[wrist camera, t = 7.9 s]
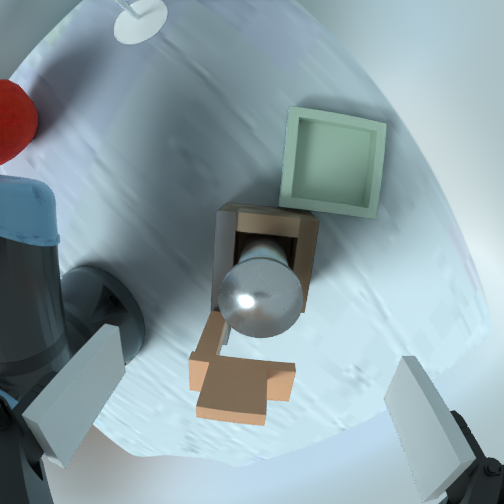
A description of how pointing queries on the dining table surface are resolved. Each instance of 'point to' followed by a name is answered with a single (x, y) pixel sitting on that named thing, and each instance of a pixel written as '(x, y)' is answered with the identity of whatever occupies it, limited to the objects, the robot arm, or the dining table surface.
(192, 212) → the dining table surface
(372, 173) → the dish
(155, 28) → the wineglass
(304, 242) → the block
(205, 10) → the dining table surface
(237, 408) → the keeper
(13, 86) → the apple
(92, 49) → the dining table surface
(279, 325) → the pin
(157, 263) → the dining table surface
